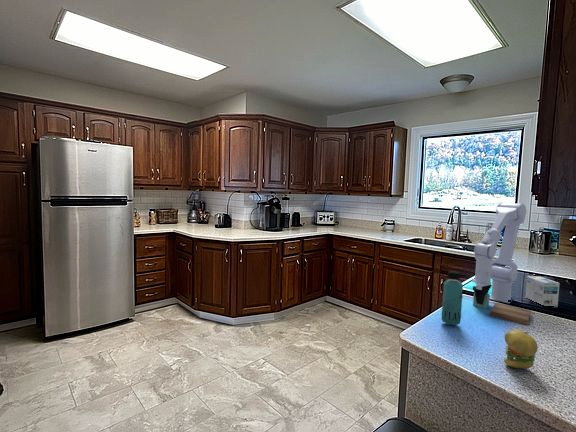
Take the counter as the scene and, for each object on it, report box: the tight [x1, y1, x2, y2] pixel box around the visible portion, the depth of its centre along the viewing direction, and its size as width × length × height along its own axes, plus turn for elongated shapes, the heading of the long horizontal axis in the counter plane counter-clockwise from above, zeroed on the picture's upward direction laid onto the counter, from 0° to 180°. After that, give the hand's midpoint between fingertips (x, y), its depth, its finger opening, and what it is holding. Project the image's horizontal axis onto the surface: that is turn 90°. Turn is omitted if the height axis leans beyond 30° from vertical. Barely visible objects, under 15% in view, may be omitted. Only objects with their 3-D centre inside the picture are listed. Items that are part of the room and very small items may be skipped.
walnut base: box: [489, 302, 532, 326], centre depth 125 cm, size 12×12×2 cm
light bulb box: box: [525, 275, 561, 308], centre depth 141 cm, size 11×7×11 cm, turn 179°
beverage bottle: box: [441, 270, 464, 326], centre depth 115 cm, size 6×7×20 cm
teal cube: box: [472, 293, 491, 309], centre depth 136 cm, size 5×5×5 cm
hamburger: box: [503, 329, 539, 369], centre depth 88 cm, size 8×7×12 cm
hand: (481, 302), depth 136 cm, fingers closed on teal cube, 5 cm apart
